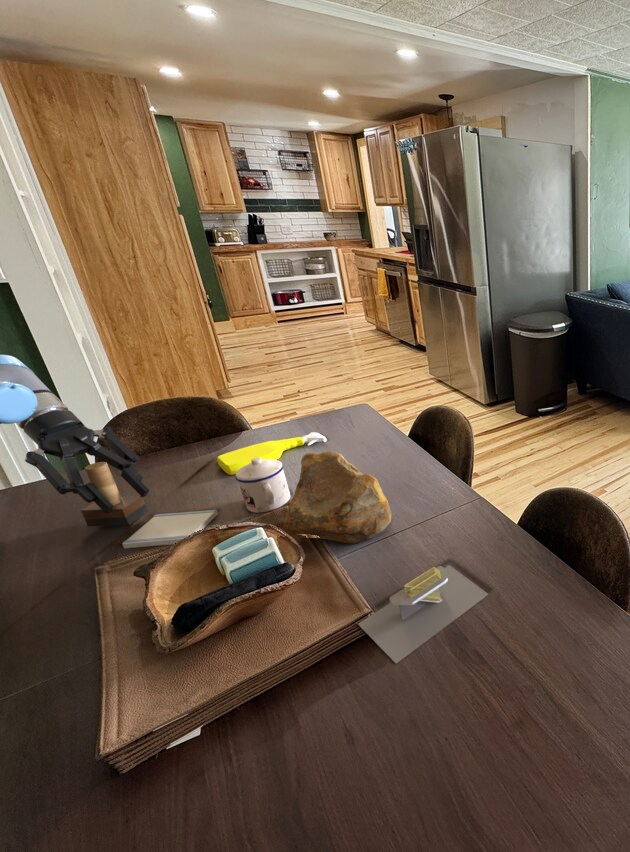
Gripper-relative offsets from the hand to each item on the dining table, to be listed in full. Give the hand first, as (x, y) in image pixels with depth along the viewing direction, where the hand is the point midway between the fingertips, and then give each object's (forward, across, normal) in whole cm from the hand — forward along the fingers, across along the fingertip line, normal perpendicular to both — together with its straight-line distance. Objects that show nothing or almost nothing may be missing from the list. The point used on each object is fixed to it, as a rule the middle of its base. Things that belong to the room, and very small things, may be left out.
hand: (128, 501), depth 99 cm
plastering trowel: (+56, -1, +46) cm, 73 cm away
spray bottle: (+3, -34, -6) cm, 34 cm away
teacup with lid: (+18, -15, +9) cm, 25 cm away
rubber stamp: (+1, +1, -6) cm, 6 cm away
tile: (+10, -2, +1) cm, 11 cm away
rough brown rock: (+33, -13, +24) cm, 43 cm away
